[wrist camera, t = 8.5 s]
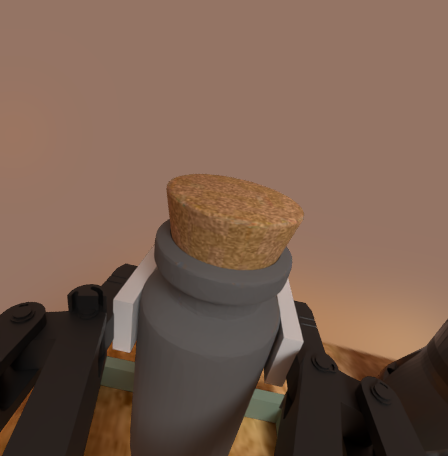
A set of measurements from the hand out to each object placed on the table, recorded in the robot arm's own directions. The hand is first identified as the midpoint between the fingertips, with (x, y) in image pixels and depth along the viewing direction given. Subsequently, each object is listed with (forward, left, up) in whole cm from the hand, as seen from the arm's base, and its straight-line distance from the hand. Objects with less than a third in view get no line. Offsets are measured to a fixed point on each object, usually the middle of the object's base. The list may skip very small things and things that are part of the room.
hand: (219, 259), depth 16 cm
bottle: (0, +5, -9) cm, 11 cm away
